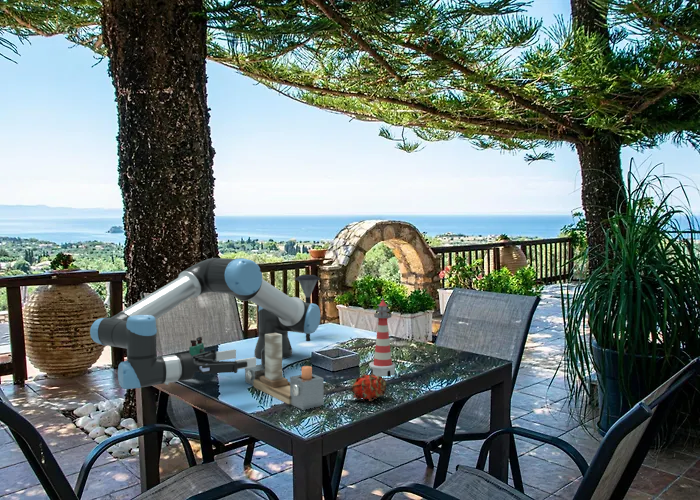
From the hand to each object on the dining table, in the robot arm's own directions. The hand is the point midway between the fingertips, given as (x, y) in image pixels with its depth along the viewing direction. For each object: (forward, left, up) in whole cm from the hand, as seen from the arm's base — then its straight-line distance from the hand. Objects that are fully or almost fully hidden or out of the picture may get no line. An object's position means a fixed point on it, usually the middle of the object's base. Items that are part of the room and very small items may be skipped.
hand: (245, 357), depth 168 cm
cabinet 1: (-10, -10, -12) cm, 18 cm away
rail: (-10, +5, -12) cm, 16 cm away
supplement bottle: (-18, -16, -12) cm, 27 cm away
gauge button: (-10, +19, -7) cm, 23 cm away
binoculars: (0, -44, -12) cm, 46 cm away
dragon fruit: (-27, +27, -12) cm, 40 cm away
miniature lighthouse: (-48, +9, -12) cm, 50 cm away
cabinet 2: (-10, +19, -12) cm, 25 cm away
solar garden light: (-60, -57, -12) cm, 84 cm away
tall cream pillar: (-10, 0, -10) cm, 14 cm away
